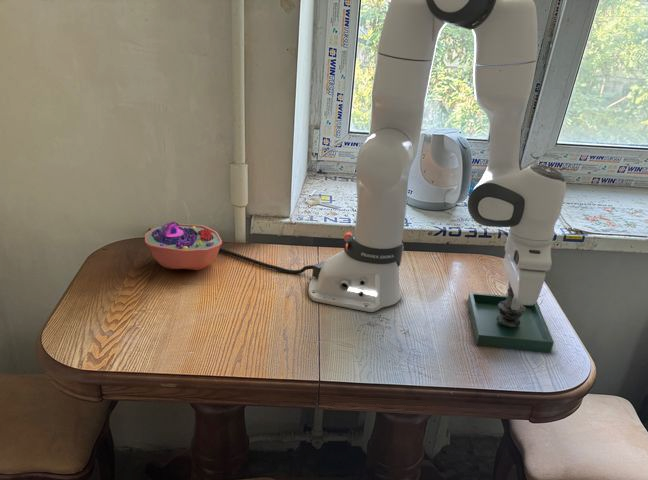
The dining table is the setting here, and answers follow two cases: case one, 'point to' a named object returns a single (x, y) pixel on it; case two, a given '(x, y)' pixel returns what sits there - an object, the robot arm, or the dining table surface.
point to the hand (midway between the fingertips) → (512, 303)
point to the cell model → (183, 245)
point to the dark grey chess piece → (509, 312)
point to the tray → (494, 334)
